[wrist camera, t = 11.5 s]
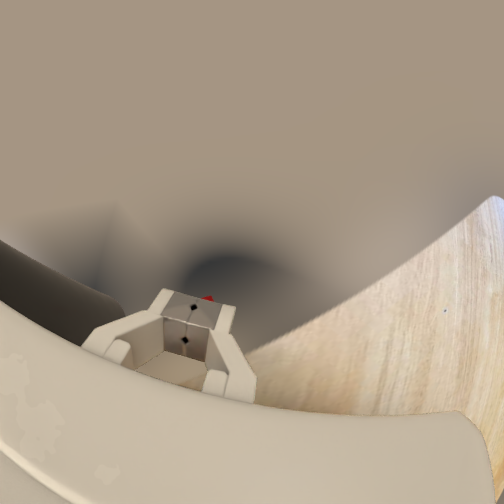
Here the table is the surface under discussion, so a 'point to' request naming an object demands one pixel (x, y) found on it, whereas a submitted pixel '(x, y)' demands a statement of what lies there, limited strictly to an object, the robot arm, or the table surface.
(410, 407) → the table surface
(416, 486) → the robot arm
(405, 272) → the table surface
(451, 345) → the table surface
